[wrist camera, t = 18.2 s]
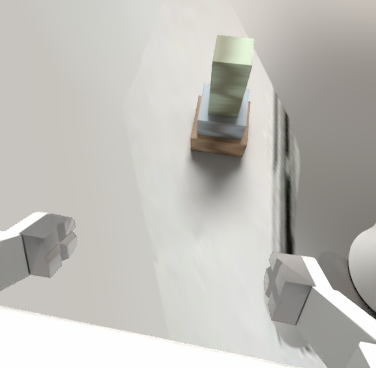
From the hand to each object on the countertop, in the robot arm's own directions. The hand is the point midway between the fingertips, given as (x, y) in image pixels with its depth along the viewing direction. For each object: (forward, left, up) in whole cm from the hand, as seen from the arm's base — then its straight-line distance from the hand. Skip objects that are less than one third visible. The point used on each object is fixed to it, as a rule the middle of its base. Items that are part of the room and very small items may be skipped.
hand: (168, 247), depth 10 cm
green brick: (-2, -27, -21) cm, 35 cm away
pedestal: (-2, -27, -29) cm, 40 cm away
